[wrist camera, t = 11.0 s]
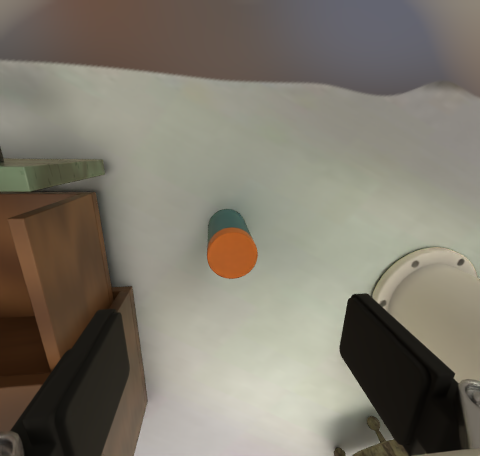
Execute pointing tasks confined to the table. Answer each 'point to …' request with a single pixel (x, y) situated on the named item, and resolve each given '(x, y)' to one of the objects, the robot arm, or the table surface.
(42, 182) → the drawer
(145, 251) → the table surface
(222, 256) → the glue stick
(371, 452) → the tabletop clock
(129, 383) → the cabinet
